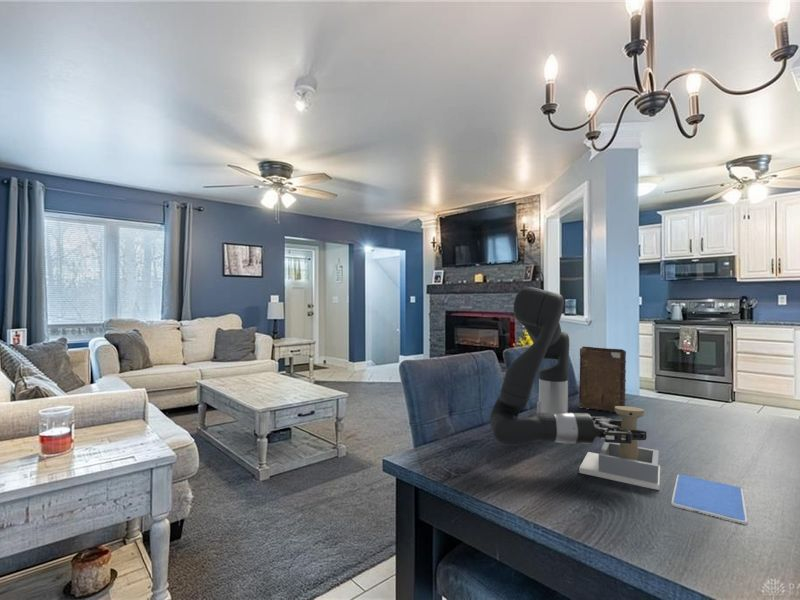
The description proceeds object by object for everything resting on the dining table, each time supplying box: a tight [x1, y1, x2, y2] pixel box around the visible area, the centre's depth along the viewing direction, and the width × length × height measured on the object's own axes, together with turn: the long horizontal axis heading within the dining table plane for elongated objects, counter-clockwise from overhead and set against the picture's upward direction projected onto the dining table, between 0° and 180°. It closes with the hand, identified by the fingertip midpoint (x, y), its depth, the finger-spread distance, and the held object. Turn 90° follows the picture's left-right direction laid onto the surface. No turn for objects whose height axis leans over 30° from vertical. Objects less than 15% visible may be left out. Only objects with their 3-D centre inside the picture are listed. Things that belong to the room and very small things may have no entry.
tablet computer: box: [670, 474, 749, 525], centre depth 90 cm, size 19×13×1 cm, turn 142°
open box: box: [578, 441, 661, 491], centre depth 104 cm, size 17×14×5 cm
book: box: [578, 346, 627, 413], centre depth 165 cm, size 17×7×25 cm, turn 54°
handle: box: [615, 405, 645, 461], centre depth 103 cm, size 5×6×15 cm
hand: (636, 429), depth 103 cm, fingers open, 8 cm apart
